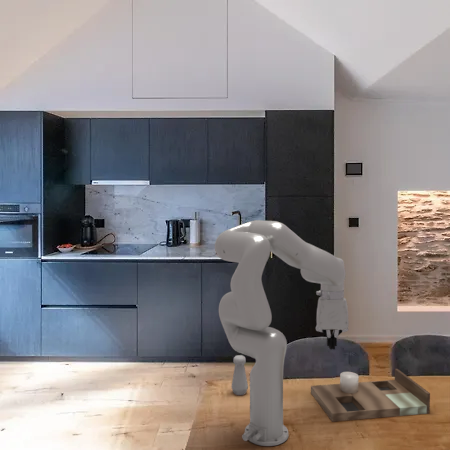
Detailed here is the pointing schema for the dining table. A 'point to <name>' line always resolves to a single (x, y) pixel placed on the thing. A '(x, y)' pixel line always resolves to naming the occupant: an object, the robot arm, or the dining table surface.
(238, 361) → the salt shaker
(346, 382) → the white cup
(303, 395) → the dining table surface
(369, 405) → the board
